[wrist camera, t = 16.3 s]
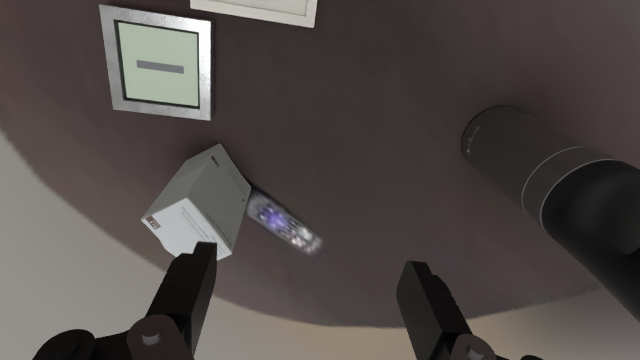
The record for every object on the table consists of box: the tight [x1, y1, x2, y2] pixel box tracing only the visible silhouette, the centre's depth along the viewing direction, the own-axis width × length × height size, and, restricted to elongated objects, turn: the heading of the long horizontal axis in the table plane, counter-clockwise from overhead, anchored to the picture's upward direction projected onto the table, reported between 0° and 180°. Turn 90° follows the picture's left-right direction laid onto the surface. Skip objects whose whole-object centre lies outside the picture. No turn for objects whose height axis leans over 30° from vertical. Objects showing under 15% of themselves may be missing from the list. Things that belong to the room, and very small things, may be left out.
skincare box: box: [141, 143, 251, 260], centre depth 40 cm, size 8×6×15 cm
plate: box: [118, 22, 200, 106], centre depth 38 cm, size 8×8×2 cm
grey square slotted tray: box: [99, 4, 215, 120], centre depth 39 cm, size 11×11×2 cm
